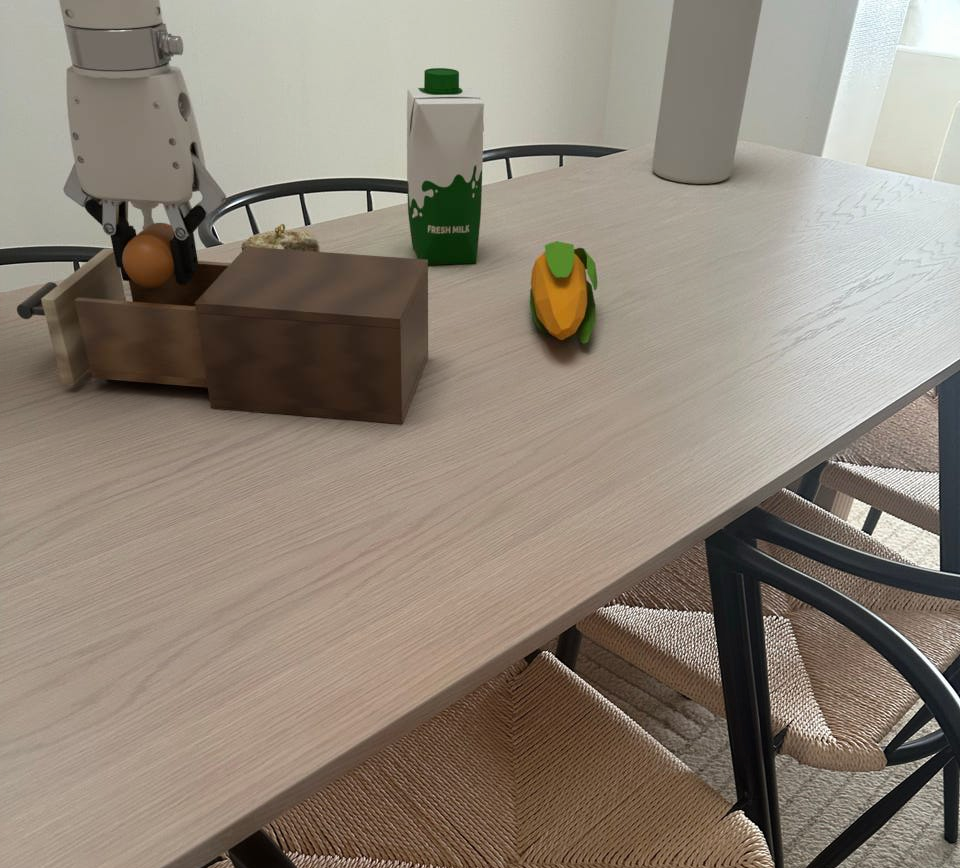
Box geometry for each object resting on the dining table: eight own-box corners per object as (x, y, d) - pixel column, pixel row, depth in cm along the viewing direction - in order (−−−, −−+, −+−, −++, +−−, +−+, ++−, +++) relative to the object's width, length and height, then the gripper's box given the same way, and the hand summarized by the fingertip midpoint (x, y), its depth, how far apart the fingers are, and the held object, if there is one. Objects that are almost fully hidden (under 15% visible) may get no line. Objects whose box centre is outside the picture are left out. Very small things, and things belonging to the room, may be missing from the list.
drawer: (11, 379, 92) (-14, 294, 87) (74, 322, 102) (56, 244, 97) (237, 397, 90) (225, 313, 85) (277, 338, 100) (269, 260, 95)
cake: (226, 279, 117) (217, 231, 114) (274, 256, 124) (267, 210, 121) (296, 287, 113) (288, 238, 110) (342, 263, 120) (336, 216, 117)
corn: (595, 225, 110) (607, 290, 95) (592, 293, 115) (604, 365, 100) (528, 227, 111) (530, 292, 95) (529, 295, 116) (530, 367, 100)
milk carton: (470, 242, 128) (475, 67, 116) (485, 266, 122) (491, 83, 109) (403, 244, 127) (400, 67, 114) (414, 269, 120) (412, 83, 107)
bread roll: (167, 296, 88) (158, 246, 85) (119, 293, 88) (109, 242, 85) (198, 266, 94) (190, 217, 91) (153, 263, 94) (144, 214, 91)
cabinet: (210, 408, 90) (194, 302, 84) (257, 343, 102) (246, 246, 95) (402, 424, 89) (400, 318, 83) (428, 357, 100) (428, 259, 94)
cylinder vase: (635, 171, 157) (658, -16, 141) (684, 159, 164) (711, -21, 148) (698, 190, 150) (729, -5, 134) (746, 176, 157) (781, -11, 141)
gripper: (235, 46, 81) (261, 270, 93) (39, 36, 83) (88, 258, 94) (205, 63, 76) (236, 299, 87) (-5, 52, 77) (53, 286, 89)
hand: (159, 275), depth 91 cm, fingers closed on bread roll, 4 cm apart
